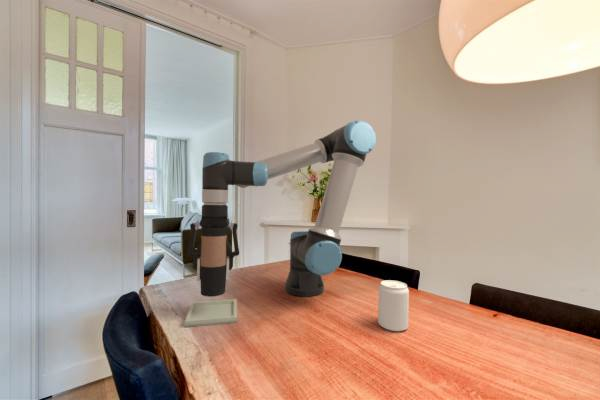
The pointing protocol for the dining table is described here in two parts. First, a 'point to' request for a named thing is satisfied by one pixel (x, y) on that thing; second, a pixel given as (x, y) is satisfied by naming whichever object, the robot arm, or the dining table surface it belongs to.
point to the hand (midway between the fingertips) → (213, 279)
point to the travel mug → (213, 261)
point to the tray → (212, 313)
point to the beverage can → (393, 305)
